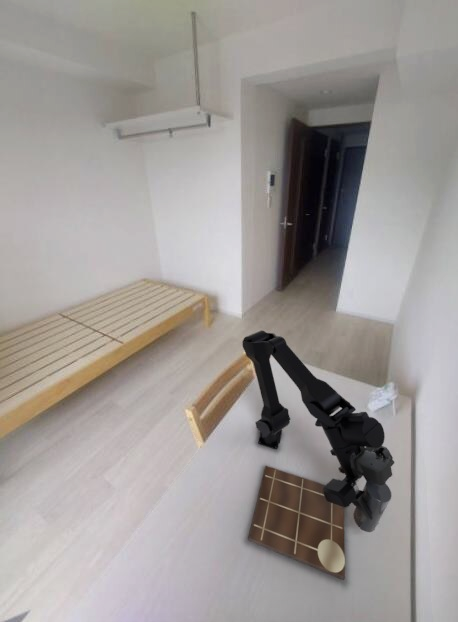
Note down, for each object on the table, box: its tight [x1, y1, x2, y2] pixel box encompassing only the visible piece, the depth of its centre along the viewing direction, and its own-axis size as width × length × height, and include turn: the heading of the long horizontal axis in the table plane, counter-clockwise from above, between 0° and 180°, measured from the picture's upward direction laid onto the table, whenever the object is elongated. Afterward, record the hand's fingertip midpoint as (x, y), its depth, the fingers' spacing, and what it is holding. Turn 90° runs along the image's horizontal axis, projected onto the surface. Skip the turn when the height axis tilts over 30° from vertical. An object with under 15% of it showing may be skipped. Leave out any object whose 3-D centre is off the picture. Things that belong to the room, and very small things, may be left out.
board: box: [248, 465, 346, 581], centre depth 71 cm, size 22×19×2 cm
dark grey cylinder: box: [352, 479, 392, 533], centre depth 61 cm, size 5×5×13 cm
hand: (377, 510), depth 60 cm, fingers closed on dark grey cylinder, 5 cm apart
